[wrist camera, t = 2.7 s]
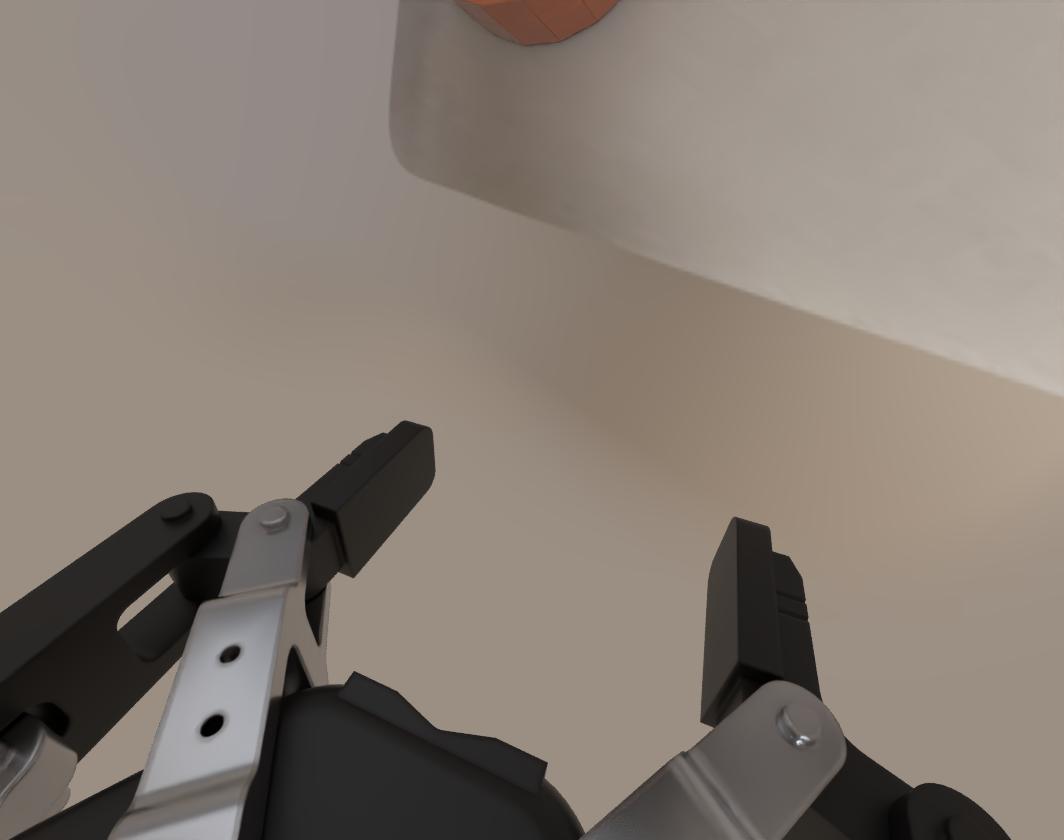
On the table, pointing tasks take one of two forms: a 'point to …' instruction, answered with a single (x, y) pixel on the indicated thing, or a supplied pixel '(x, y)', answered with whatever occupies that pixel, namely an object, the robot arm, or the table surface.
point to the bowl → (536, 17)
